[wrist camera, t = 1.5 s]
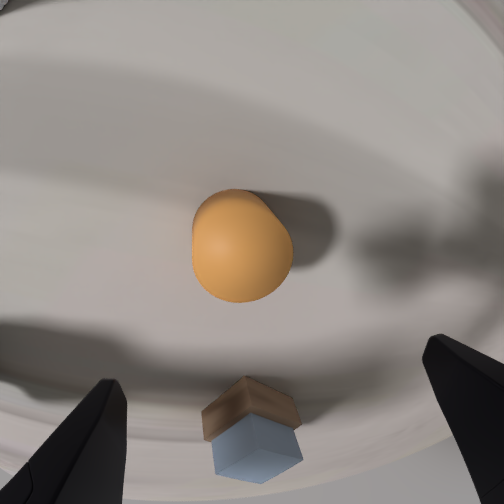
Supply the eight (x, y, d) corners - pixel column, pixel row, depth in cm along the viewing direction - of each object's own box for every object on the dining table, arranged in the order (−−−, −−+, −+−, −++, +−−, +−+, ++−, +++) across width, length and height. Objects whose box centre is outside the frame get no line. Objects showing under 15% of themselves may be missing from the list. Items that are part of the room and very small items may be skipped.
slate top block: (254, 453, 25) (261, 484, 22) (211, 440, 23) (215, 474, 20) (292, 428, 24) (303, 459, 21) (250, 412, 22) (259, 448, 19)
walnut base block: (249, 428, 28) (255, 455, 25) (201, 409, 26) (204, 439, 23) (291, 396, 27) (302, 424, 24) (244, 373, 25) (251, 404, 22)
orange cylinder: (236, 279, 21) (247, 318, 17) (175, 234, 19) (171, 267, 15) (288, 223, 20) (312, 251, 16) (229, 172, 18) (239, 187, 14)
